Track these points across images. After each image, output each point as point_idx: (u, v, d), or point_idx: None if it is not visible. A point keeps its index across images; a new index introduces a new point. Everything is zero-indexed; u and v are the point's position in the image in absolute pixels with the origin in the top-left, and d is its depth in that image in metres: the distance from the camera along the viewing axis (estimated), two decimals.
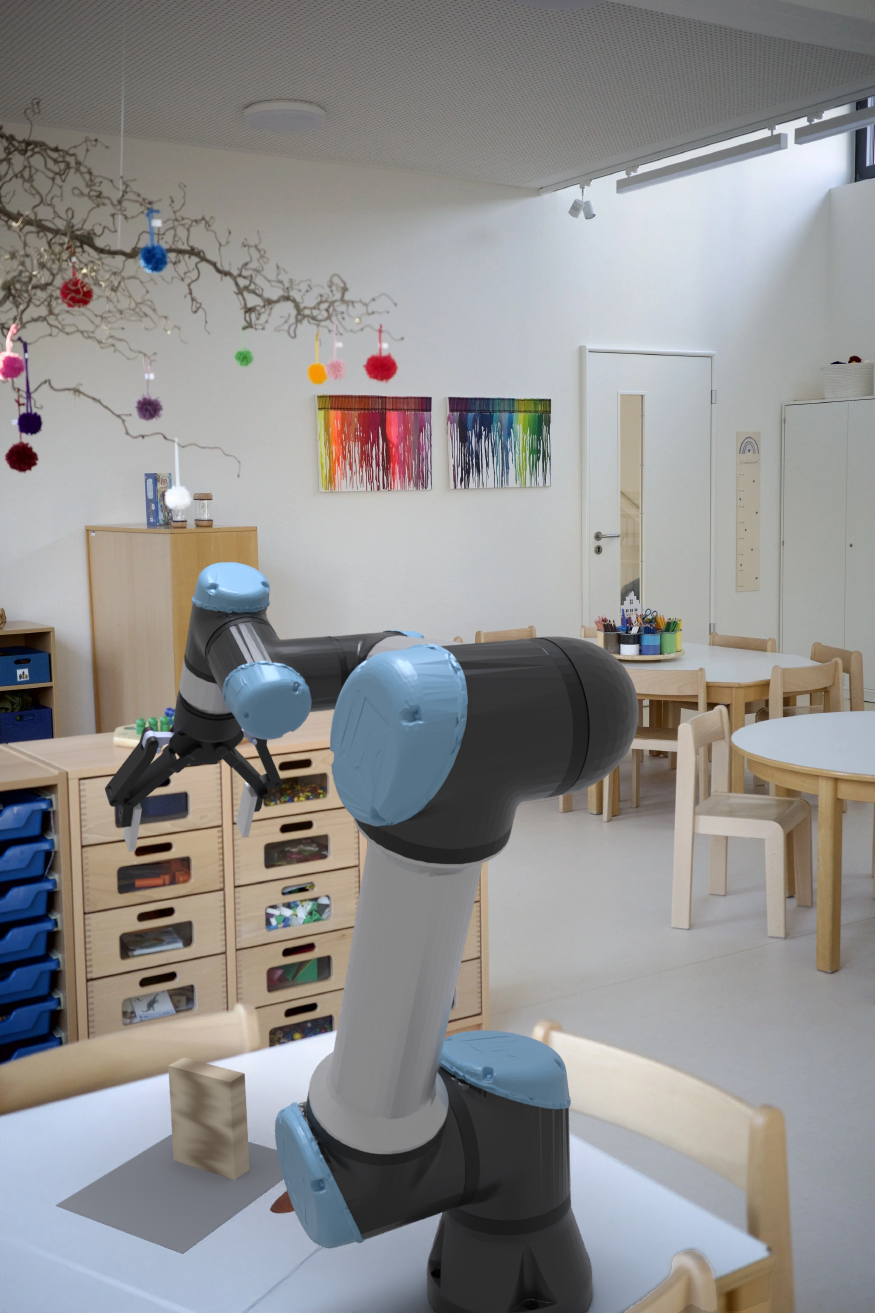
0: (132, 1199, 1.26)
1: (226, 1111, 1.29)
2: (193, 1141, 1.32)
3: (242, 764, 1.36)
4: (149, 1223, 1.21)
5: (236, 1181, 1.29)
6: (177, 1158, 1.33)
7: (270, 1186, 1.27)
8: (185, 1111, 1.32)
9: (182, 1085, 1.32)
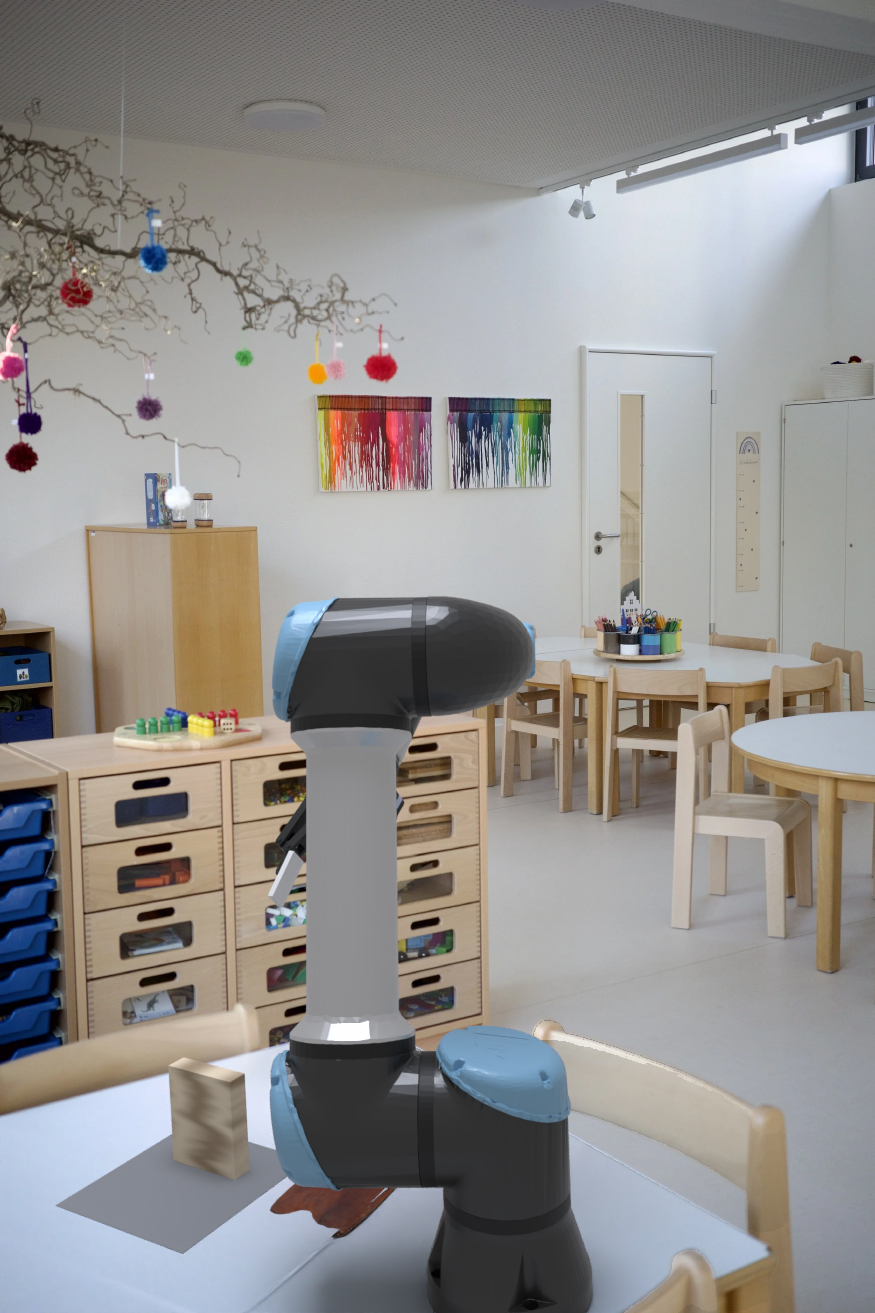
0: (132, 1199, 1.26)
1: (226, 1111, 1.29)
2: (193, 1141, 1.32)
3: None
4: (149, 1223, 1.21)
5: (236, 1181, 1.29)
6: (177, 1158, 1.33)
7: (270, 1186, 1.27)
8: (185, 1111, 1.32)
9: (182, 1085, 1.32)
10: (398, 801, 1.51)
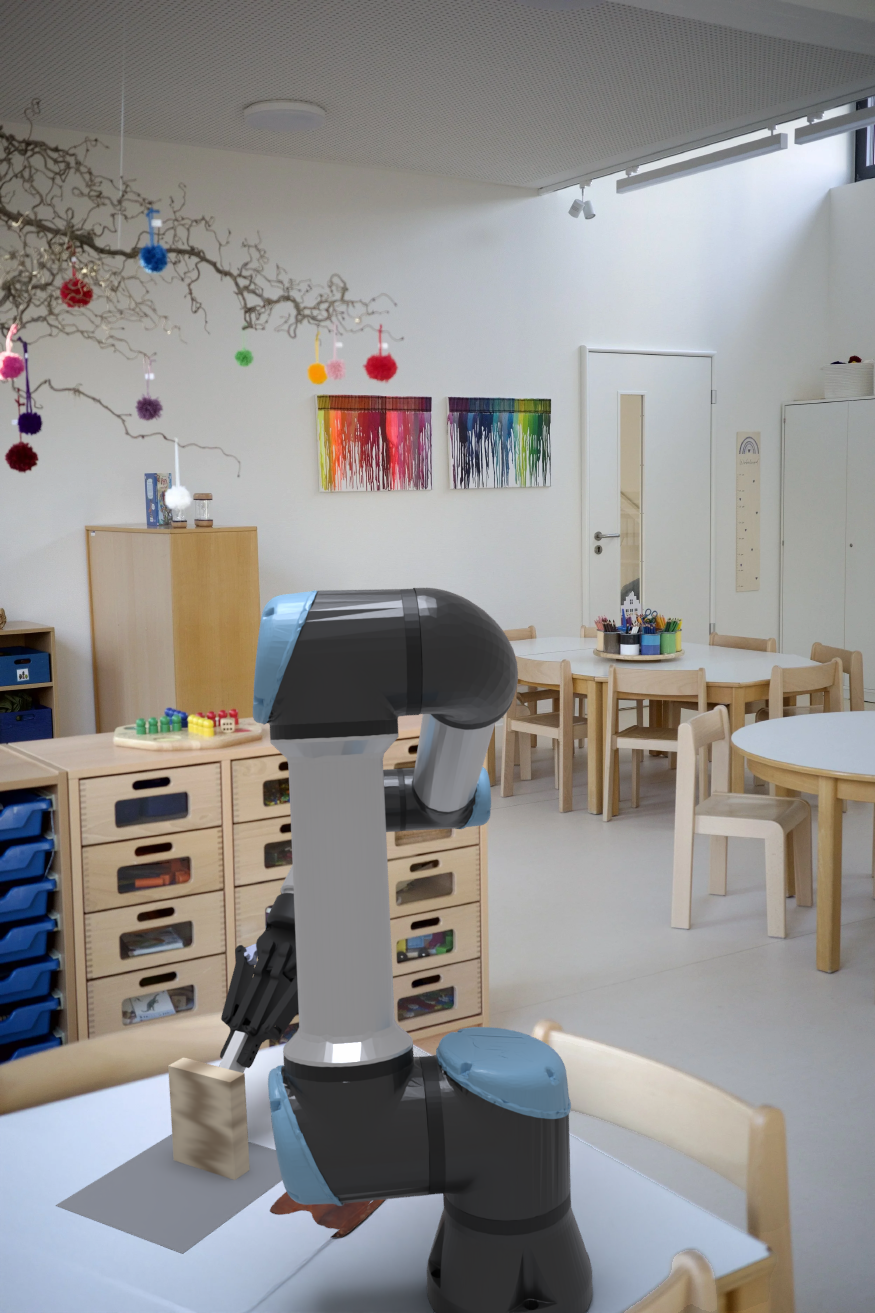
0: (132, 1199, 1.26)
1: (226, 1111, 1.29)
2: (193, 1141, 1.32)
3: (275, 985, 1.39)
4: (149, 1223, 1.21)
5: (236, 1181, 1.29)
6: (177, 1158, 1.33)
7: (270, 1186, 1.27)
8: (184, 1111, 1.32)
9: (182, 1085, 1.32)
10: None
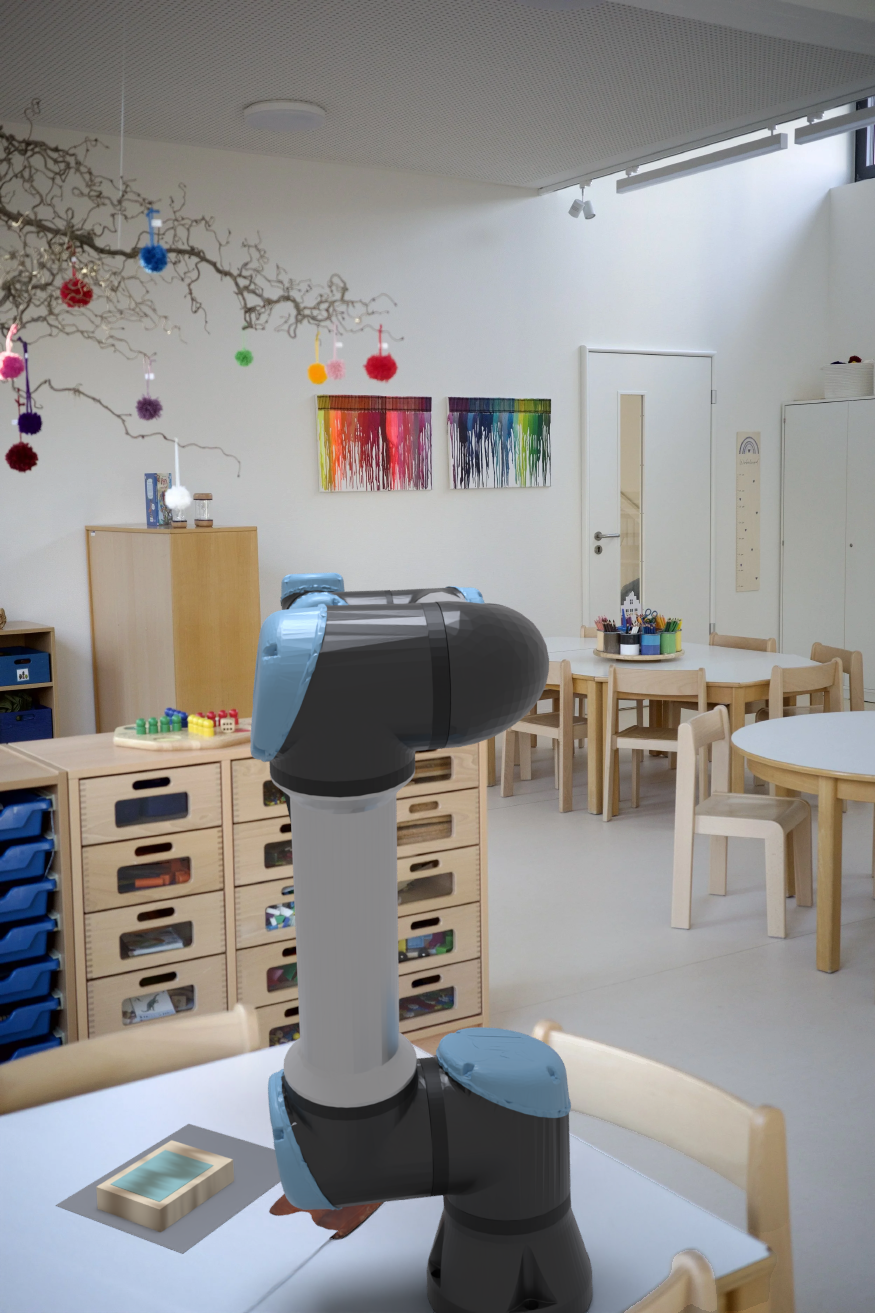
0: None
1: None
2: None
3: None
4: None
5: (236, 1181, 1.29)
6: None
7: (270, 1186, 1.27)
8: None
9: None
10: None
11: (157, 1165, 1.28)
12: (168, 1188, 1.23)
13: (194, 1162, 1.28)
